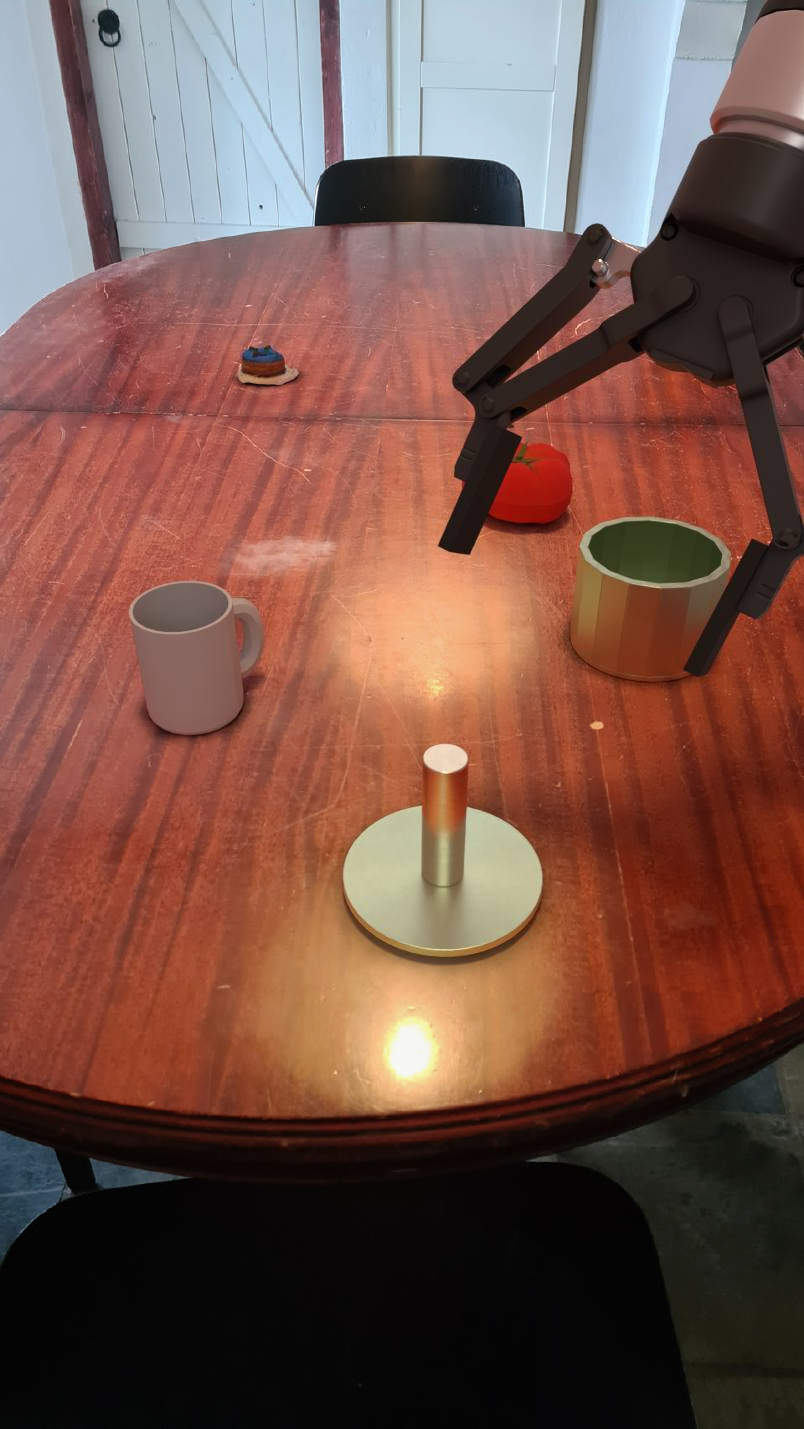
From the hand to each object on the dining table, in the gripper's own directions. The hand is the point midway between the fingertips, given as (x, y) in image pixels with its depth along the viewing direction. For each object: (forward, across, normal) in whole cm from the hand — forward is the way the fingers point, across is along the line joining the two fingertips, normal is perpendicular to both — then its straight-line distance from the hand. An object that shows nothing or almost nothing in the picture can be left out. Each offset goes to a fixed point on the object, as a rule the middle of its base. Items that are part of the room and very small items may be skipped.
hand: (568, 609), depth 51 cm
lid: (+19, +2, -8) cm, 21 cm away
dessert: (-1, +69, -69) cm, 97 cm away
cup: (+20, +26, -15) cm, 36 cm away
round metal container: (+4, +3, -36) cm, 36 cm away
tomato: (0, +23, -51) cm, 55 cm away
